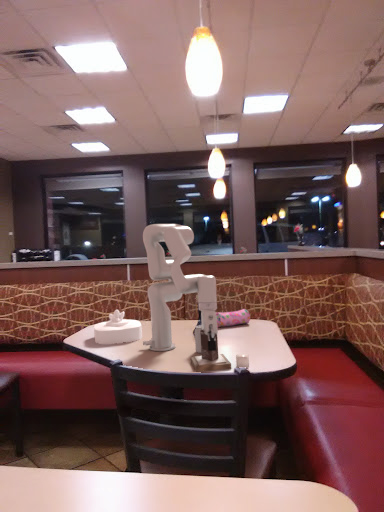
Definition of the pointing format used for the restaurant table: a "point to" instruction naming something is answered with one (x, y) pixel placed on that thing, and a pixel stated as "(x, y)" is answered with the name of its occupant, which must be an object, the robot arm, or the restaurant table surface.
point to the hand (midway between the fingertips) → (209, 347)
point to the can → (198, 338)
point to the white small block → (242, 360)
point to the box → (204, 347)
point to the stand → (210, 363)
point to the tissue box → (117, 330)
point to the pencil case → (232, 318)
